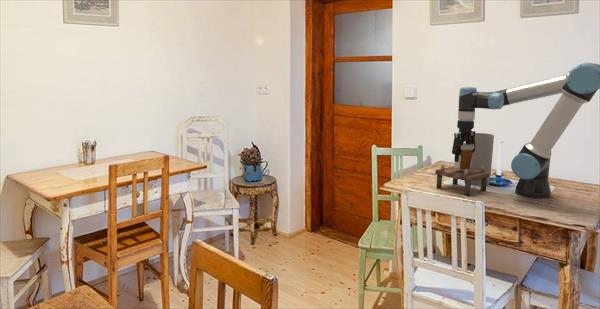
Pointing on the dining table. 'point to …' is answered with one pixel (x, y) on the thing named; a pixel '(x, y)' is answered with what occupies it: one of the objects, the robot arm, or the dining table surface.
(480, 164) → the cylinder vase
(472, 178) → the peg shelf stand
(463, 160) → the disposable coffee cup
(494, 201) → the dining table surface
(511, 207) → the dining table surface
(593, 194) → the dining table surface
